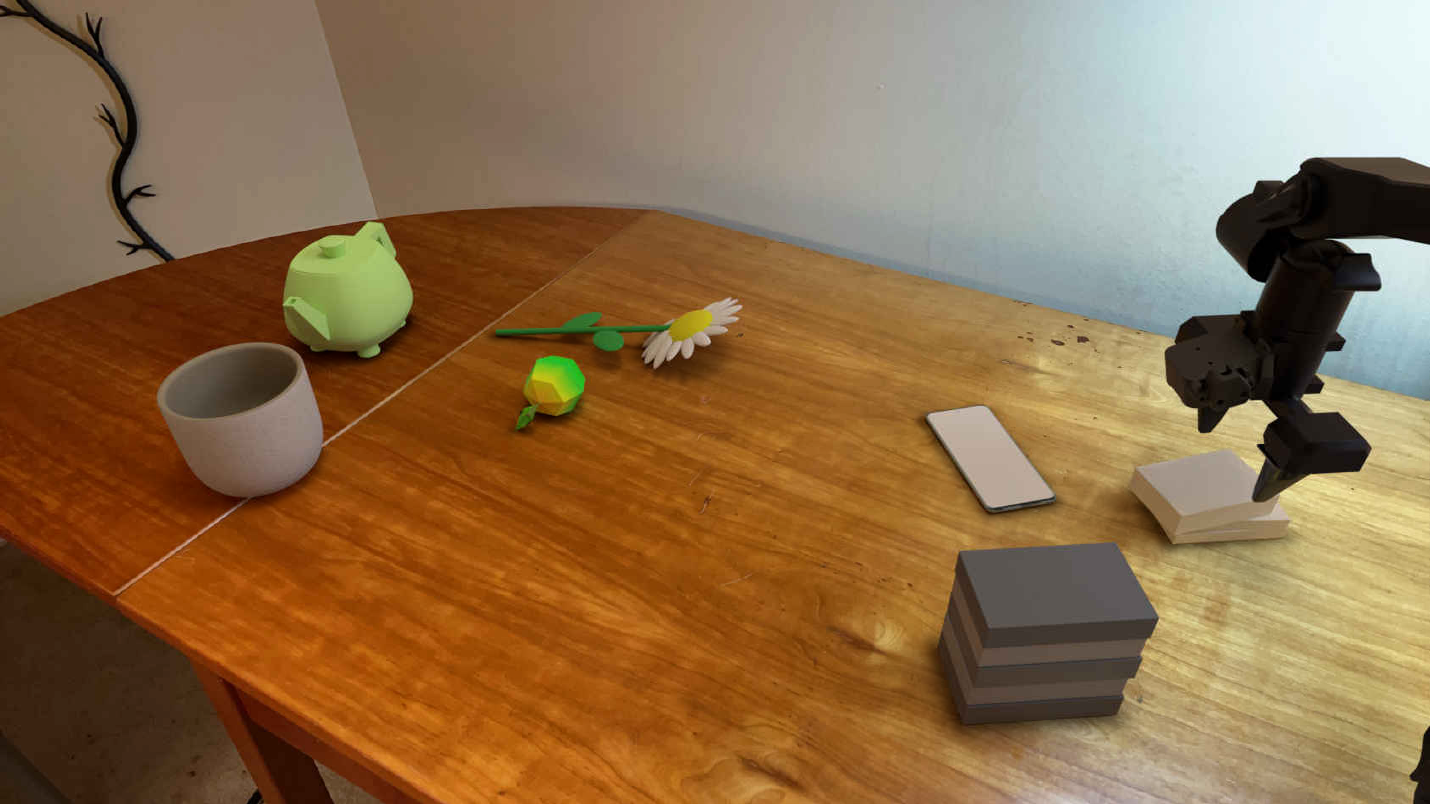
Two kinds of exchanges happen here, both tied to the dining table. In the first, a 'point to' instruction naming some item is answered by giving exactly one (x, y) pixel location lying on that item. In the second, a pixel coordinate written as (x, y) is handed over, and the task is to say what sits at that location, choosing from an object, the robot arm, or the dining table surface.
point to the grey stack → (1043, 632)
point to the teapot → (347, 292)
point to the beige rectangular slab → (1238, 529)
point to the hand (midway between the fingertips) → (1229, 465)
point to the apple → (551, 388)
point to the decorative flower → (663, 339)
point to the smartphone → (990, 459)
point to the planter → (244, 418)
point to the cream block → (1199, 491)
